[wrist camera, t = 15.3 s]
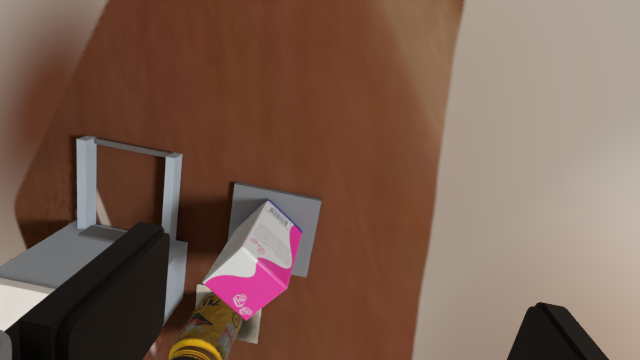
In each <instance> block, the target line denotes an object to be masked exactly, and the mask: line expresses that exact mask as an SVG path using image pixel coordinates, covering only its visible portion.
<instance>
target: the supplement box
mask: <svg viewBox="0 0 640 360" xmlns="http://www.w3.org/2000/svg"><path fill="white" fill-rule="evenodd" d="M301 236H302V230H301V229H300V228H299V227H298V226H297V225H296V224H295V223H294V222H293V221H292V220H291V219H290V218H288V216H286V215H285V214H284V213H283V212H282V211H281V210H280V209H279V208H278V207H277V206H276V205H275V204H274V203H273V202H272V201H271V200H270V199H268V200H266V201H265V202H264V203H263V204H262V205H261V206H260V207H259V208H258V209H256V210H255V211H254V212H253V213H252V214H251V215H250V216H249V217H248V218H246V219H245V220H244V221H243V222H242V223H241V224H240V225H239V226H238V227H237V228H236V229H235V231H234V233H233V234H232V236H231V238H230V239H229V241H228V242H227V244H226V245H225V247H224V248H223V250H222V252H221V253H220V255H219V256H218V258H217V260H216V261H215V263H214V264H213V266H212V268H211V269H210V271H209V272H208V274H207V275H206V277H205V279H204V280H203V284H204V285H206V286H207V287H208V288H209V289H210V290H211V291H212V292H214V293H215V294H216V295H217V296H218V297H219V298H220V299H222V300H223V301H224V302H225V303H226V304H227V305H229V306H230V307H231V308H232V309H233V310H234V311H235V312H237V313H238V314H239V315H240V316H241V317H242V318H243V319H245V320H248V319H249V318H250V317H252V316H253V315H254V314H255V313H256V312H258V311H259V310H260V309H261V308H262V307H264V306H265V305H266V304H268V303H269V302H270V301H271V300H273V299H274V298H275V297H277V296H278V295H279V294H280V293H282V292H283V291H284V290H285V289H287V287H288V283H289V279H290V275H291V272H292V268H293V265H294V261H295V258H296V254H297V250H298V247H299V243H300V240H301Z"/></svg>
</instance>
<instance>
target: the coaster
mask: <svg viewBox="0 0 640 360" xmlns="http://www.w3.org/2000/svg"><path fill="white" fill-rule="evenodd" d="M268 199H270V200H271V201H272V202H273V203H274V204H275V205H276V206H277V207H278V208H279V209H280V210H281V211H282V212H283V213H284V214H285V215H286V216H288V218H290V219H291V220H292V221H293V222H294V223H295V224H296V225H297V226H298V227H299V228H300V229H301V230H302V236H301V240H300V243H299V247H298V250H297V254H296V258H295V261H294V265H293V268H292V272H291V274H292V275H297V276H302V277H307V272H308V267H309V262H310V257H311V252H312V247H313V242H314V237H315V232H316V227H317V222H318V217H319V212H320V206H321V201H322V199H321V198H316V197H311V196H306V195H301V194H296V193H291V192H286V191H281V190H276V189H271V188H266V187H261V186H256V185H251V184H246V183H241V182H236V183H235V184H234V193H233V201H232V209H231V217H230V225H229V233H228V241H229V239H230V238H231V236H232V234H233V233H234V231H235V229H236V228H237V227H238V226H239V225H240V224H241V223H242V222H243V221H244V220H245V219H246V218H248V217H249V216H250V215H251V214H252V213H253V212H254V211H255V210H256V209H258V208H259V207H260V206H261V205H262V204H263V203H264V202H265V201H266V200H268Z"/></svg>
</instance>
